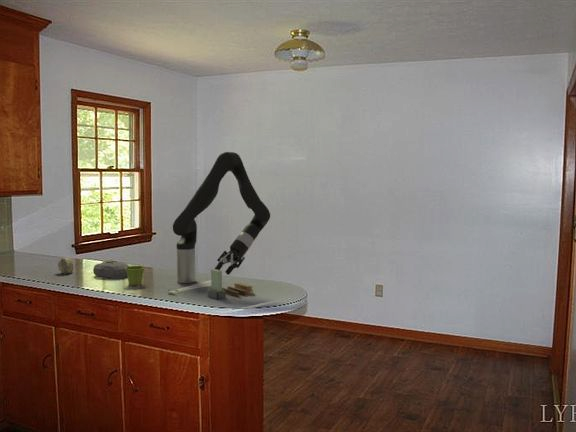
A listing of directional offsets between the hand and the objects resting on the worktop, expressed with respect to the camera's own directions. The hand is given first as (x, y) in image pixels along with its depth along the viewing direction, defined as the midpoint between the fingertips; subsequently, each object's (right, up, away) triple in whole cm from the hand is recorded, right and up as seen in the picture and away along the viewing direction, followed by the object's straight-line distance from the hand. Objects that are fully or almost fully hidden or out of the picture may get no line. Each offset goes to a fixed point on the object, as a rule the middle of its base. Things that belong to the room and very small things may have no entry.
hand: (221, 272), depth 229 cm
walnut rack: (+6, -11, +7) cm, 14 cm away
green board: (-2, -11, -1) cm, 11 cm away
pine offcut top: (+9, -8, +8) cm, 14 cm away
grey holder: (-2, -12, -1) cm, 12 cm away
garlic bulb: (-94, -7, +59) cm, 111 cm away
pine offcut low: (+8, -10, +8) cm, 16 cm away
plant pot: (-47, -10, +29) cm, 56 cm away
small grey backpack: (-65, -8, +50) cm, 82 cm away
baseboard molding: (-13, -11, +20) cm, 26 cm away
